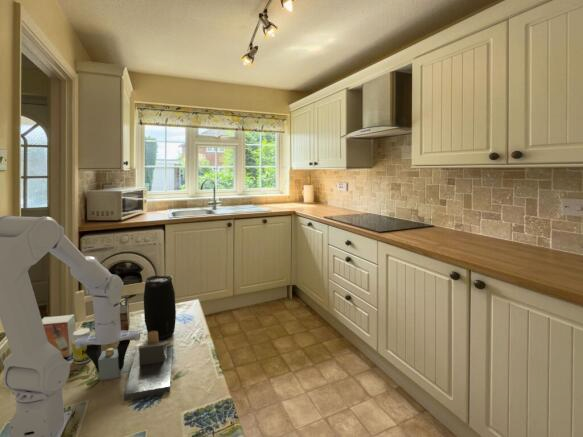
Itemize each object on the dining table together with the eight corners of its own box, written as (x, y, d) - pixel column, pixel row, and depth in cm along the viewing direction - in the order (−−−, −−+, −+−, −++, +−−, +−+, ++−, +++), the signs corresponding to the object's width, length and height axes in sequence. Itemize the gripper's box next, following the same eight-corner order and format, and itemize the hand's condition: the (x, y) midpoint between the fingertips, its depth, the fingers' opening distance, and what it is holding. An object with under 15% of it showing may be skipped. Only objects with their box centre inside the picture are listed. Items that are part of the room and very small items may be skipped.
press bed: (170, 391, 78) (169, 381, 77) (124, 400, 75) (123, 389, 74) (173, 349, 96) (172, 341, 96) (136, 355, 93) (136, 346, 93)
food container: (110, 323, 113) (108, 296, 112) (129, 320, 116) (128, 294, 114) (106, 339, 102) (104, 309, 101) (128, 336, 105) (126, 306, 103)
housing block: (118, 377, 83) (117, 352, 82) (99, 380, 82) (97, 355, 81) (122, 367, 87) (120, 344, 86) (103, 370, 86) (102, 346, 85)
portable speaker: (145, 333, 106) (141, 276, 104) (174, 327, 111) (172, 272, 108) (146, 345, 99) (143, 284, 96) (178, 338, 103) (176, 279, 101)
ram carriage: (164, 361, 87) (162, 339, 87) (139, 365, 86) (138, 342, 85) (165, 349, 94) (164, 328, 93) (143, 352, 92) (141, 331, 91)
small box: (37, 360, 90) (34, 325, 89) (46, 350, 96) (43, 316, 94) (70, 356, 93) (67, 321, 91) (77, 346, 98) (74, 313, 97)
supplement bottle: (83, 365, 88) (81, 336, 87) (69, 363, 89) (66, 334, 88) (97, 356, 93) (95, 328, 92) (83, 354, 94) (81, 326, 93)
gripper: (140, 310, 88) (143, 356, 90) (79, 316, 84) (83, 365, 86) (136, 321, 82) (139, 370, 83) (70, 328, 77) (75, 381, 79)
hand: (110, 369), depth 84 cm, fingers closed on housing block, 4 cm apart
